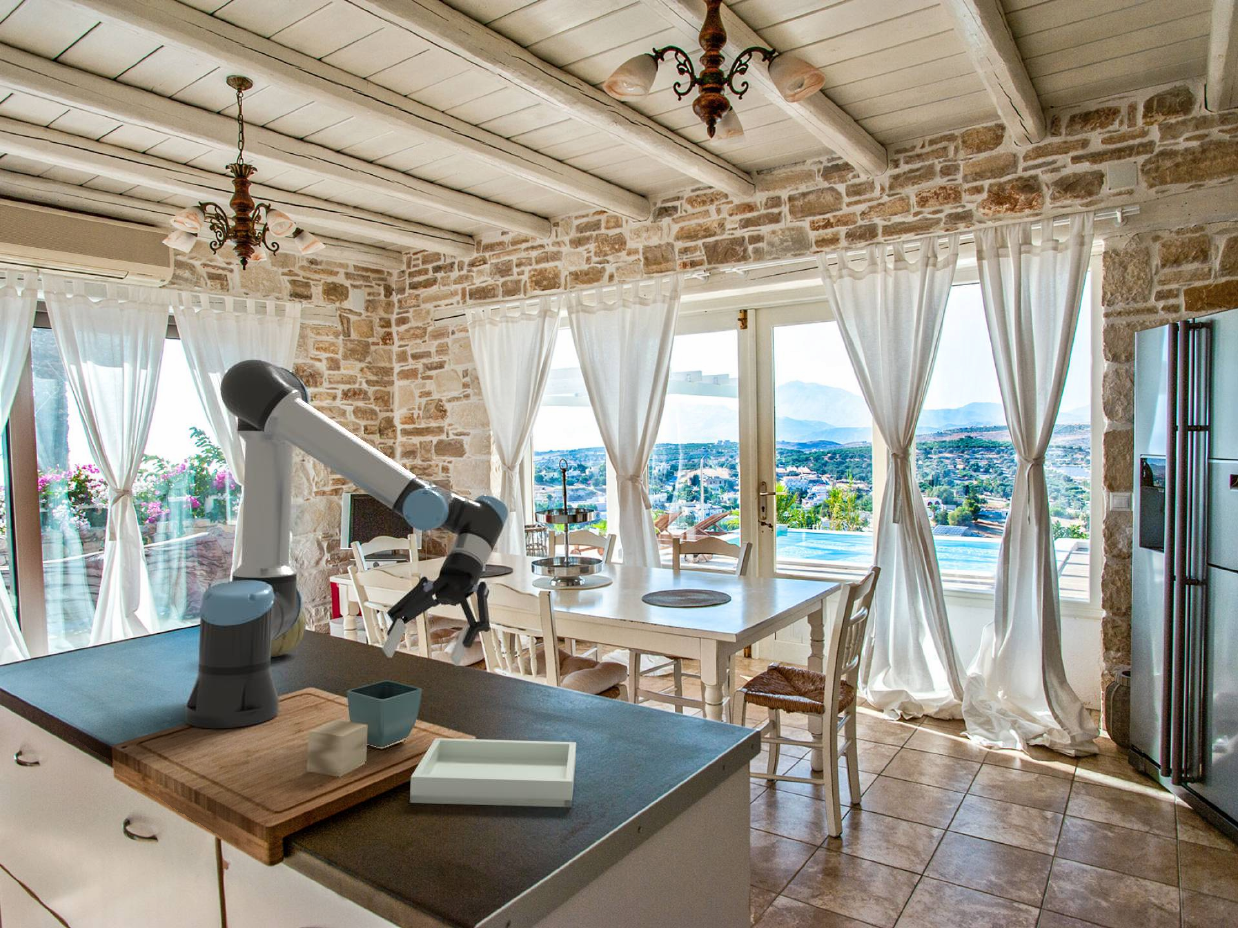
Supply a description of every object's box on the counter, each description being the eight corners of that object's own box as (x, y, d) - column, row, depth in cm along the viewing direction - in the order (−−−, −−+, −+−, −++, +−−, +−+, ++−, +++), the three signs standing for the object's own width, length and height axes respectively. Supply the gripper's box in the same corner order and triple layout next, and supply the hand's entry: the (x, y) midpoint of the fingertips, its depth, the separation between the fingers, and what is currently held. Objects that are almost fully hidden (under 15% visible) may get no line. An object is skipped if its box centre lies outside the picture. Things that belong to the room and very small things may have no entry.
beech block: (306, 771, 118) (308, 730, 118) (333, 758, 124) (335, 719, 124) (340, 777, 116) (342, 736, 116) (366, 763, 122) (367, 724, 122)
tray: (409, 802, 108) (410, 776, 108) (434, 760, 124) (435, 737, 124) (571, 807, 108) (572, 781, 108) (575, 764, 124) (576, 742, 124)
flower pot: (380, 757, 125) (382, 699, 125) (342, 745, 129) (345, 689, 129) (421, 742, 132) (423, 688, 132) (384, 731, 137) (387, 679, 137)
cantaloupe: (261, 647, 196) (264, 586, 196) (316, 651, 194) (319, 590, 194) (223, 660, 181) (226, 595, 182) (283, 665, 179) (286, 598, 180)
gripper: (529, 579, 152) (490, 676, 137) (416, 570, 160) (368, 661, 145) (518, 554, 147) (476, 652, 132) (402, 546, 155) (350, 638, 140)
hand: (419, 657), depth 139 cm, fingers open, 13 cm apart
